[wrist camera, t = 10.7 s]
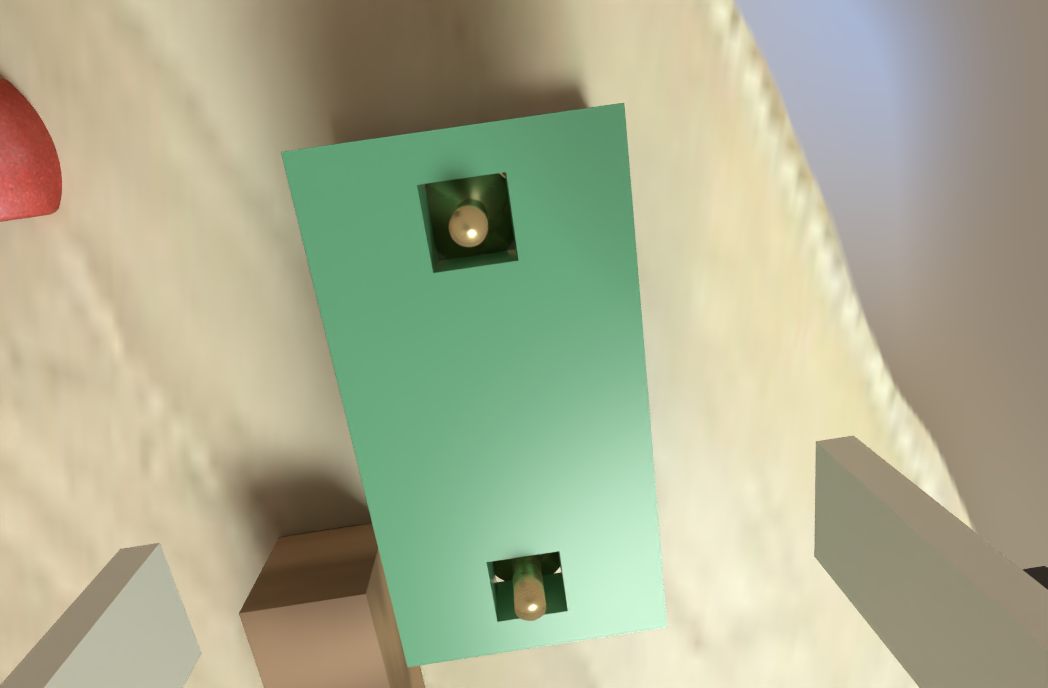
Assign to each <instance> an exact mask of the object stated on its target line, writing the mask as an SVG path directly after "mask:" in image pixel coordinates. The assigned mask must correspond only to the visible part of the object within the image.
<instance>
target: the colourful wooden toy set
mask: <svg viewBox="0 0 1048 688" xmlns="http://www.w3.org/2000/svg"><path fill="white" fill-rule="evenodd" d="M61 194H62V177H61V169H60V163H59V159H58V155H57V152H56V149H55V146H54V143H53V141H52V138H51V136H50V134H49V132H48V130H47V129H46V127H45V125H44V123H43V121H42V120H41V118H40V117H39V115H38V114H37V112H36V111H35V109H34V108H33V107H32V105H31V104H30V103H29V102H28V101H27V99H26V98H25V97H24V96H23V95H22V94H21V93H20V92H19V91H18V90H17V89H16V88H15V87H14V86H13V85H12V84H11V83H9V82H8V81H6V80H4V79H0V222H2V221H8V220H15V219H22V218H30V217H37V216H43V215H50V214H52V213H54V212H56V211H57V210H58V208H59V205H60V201H61Z"/></svg>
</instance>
